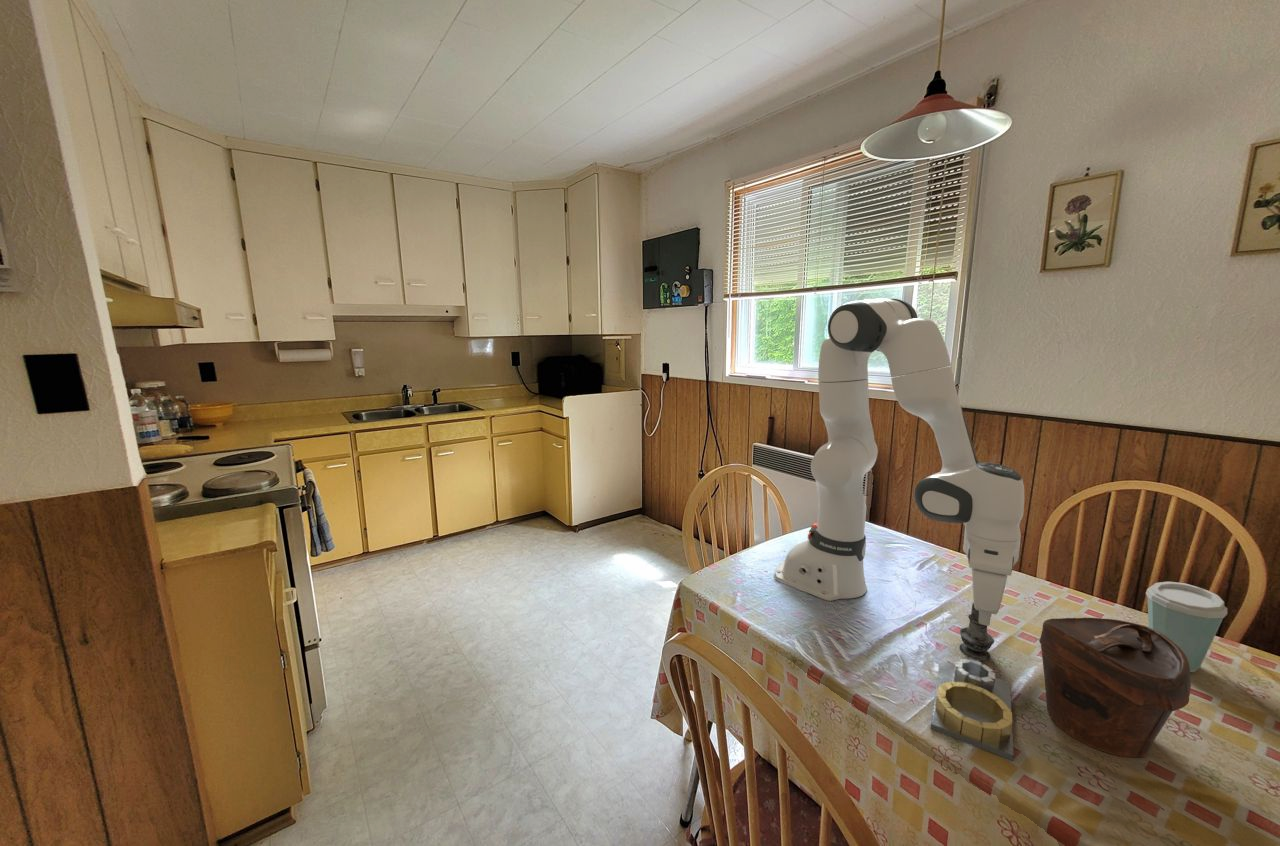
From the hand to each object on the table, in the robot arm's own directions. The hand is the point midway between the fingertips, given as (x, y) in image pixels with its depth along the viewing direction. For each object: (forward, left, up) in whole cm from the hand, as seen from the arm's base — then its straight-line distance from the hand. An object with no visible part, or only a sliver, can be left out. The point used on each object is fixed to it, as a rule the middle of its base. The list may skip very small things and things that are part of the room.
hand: (984, 611), depth 99 cm
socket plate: (-1, -18, -9) cm, 20 cm away
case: (+17, -11, -10) cm, 22 cm away
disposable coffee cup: (+31, +18, -10) cm, 38 cm away
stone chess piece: (-1, 0, -10) cm, 10 cm away
